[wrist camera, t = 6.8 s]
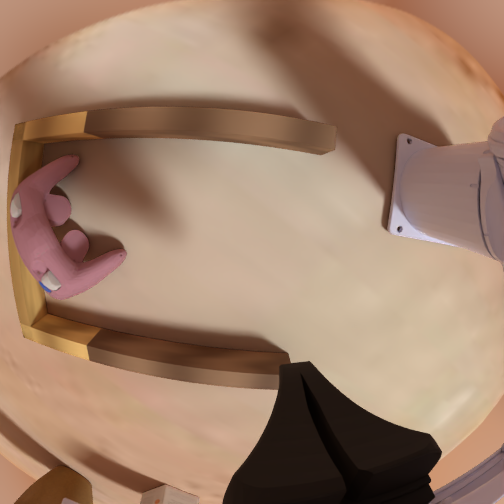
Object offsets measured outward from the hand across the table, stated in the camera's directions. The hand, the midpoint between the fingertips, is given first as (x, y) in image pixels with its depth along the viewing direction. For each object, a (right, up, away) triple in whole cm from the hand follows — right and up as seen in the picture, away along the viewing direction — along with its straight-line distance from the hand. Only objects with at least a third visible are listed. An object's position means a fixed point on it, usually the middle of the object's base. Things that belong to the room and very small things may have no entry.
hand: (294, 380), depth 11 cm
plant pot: (-35, -36, +17) cm, 53 cm away
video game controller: (-16, +8, +8) cm, 19 cm away
